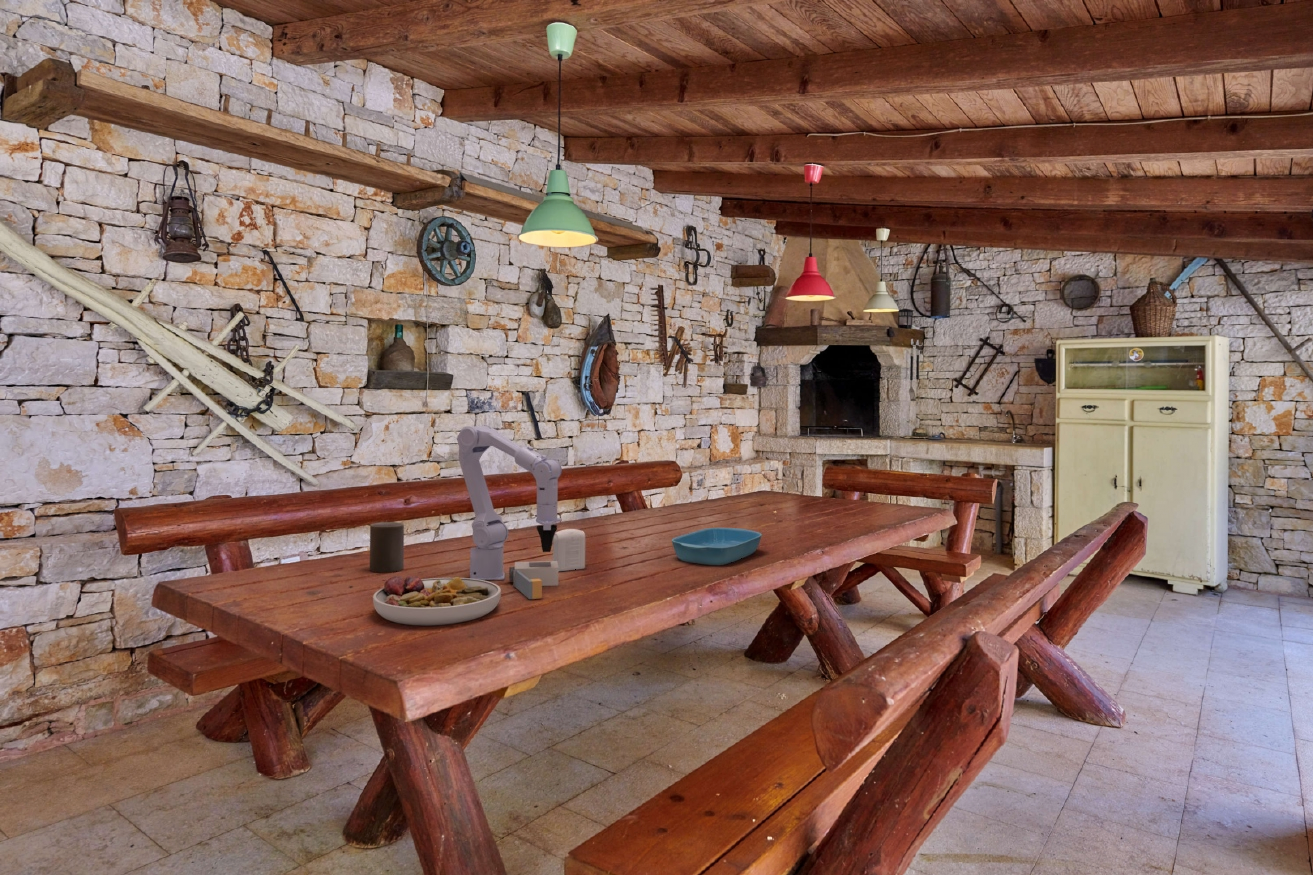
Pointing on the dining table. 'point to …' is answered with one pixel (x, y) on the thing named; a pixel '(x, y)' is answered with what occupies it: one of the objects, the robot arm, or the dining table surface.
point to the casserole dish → (716, 545)
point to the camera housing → (538, 571)
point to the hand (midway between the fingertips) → (546, 551)
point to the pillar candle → (386, 547)
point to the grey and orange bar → (527, 585)
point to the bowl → (435, 600)
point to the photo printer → (569, 549)
